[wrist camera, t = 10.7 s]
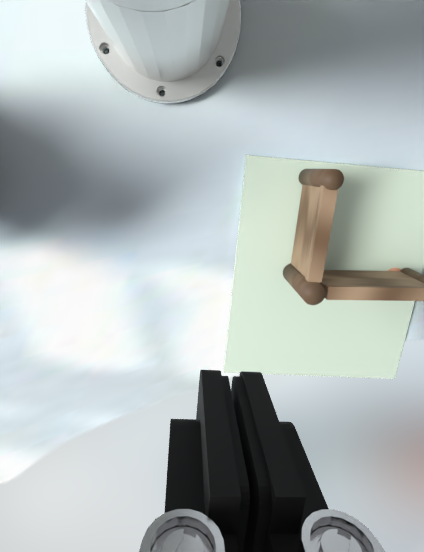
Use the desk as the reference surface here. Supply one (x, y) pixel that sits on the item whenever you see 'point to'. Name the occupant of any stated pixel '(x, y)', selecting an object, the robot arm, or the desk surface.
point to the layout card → (340, 256)
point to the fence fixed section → (313, 232)
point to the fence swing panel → (373, 285)
